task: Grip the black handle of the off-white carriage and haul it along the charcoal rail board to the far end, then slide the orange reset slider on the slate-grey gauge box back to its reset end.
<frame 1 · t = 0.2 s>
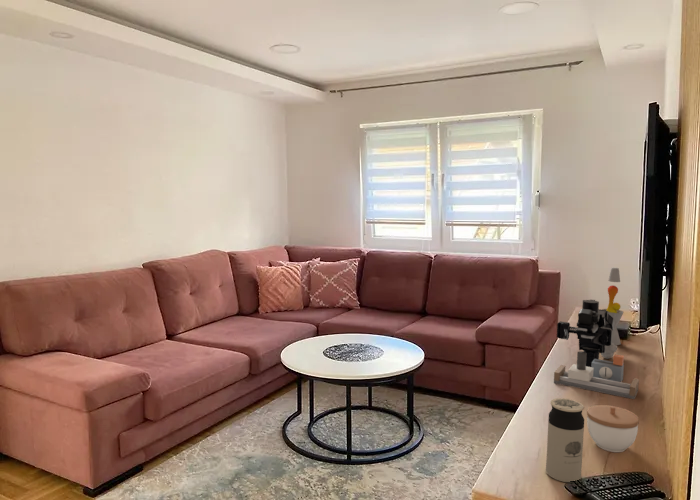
hand: (579, 339, 187), 17 cm above the tv stand, tool horizontal, fingers open, 9 cm apart
carriage: (581, 364, 189), point 7 cm above the tv stand, slide at -5.0 cm
grey faceted rock: (607, 358, 219), on the tv stand
gauge box: (606, 378, 195), on the tv stand
rail board: (595, 386, 187), on the tv stand
lidded bowl: (610, 446, 143), on the tv stand
lava lamp: (610, 342, 243), on the tv stand
travel mug: (563, 475, 128), on the tv stand
reset slider: (618, 359, 192), point 8 cm above the tv stand, slide at 3.5 cm
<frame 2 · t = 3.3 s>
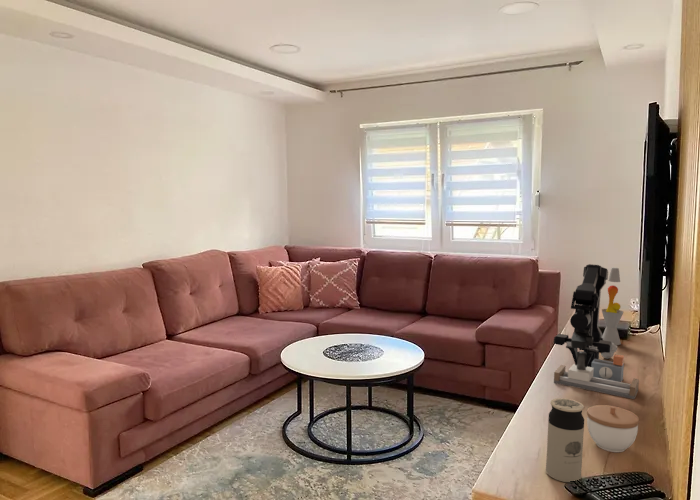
hand: (581, 366, 189), 7 cm above the tv stand, tool pointing down, fingers closed on carriage, 3 cm apart
carriage: (581, 364, 189), point 7 cm above the tv stand, slide at -5.0 cm, touching gripper
everything else where it was.
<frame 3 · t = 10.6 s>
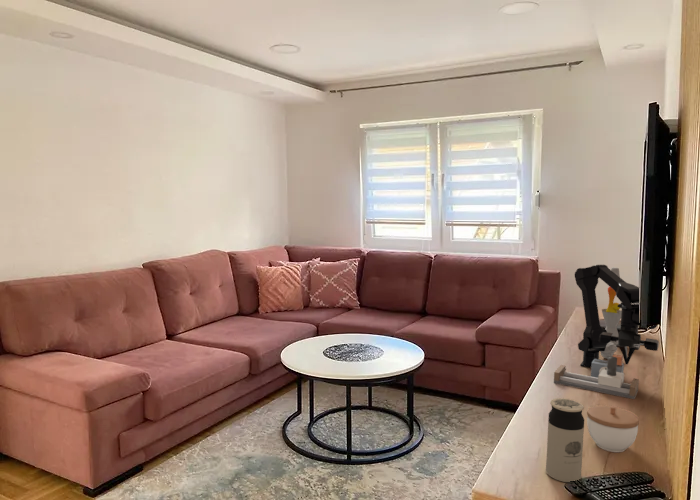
hand: (626, 363, 191), 7 cm above the tv stand, tool pointing down, fingers closed
carriage: (611, 370, 183), point 7 cm above the tv stand, slide at 4.9 cm
reset slider: (617, 359, 192), point 8 cm above the tv stand, slide at 3.2 cm, touching gripper
everything else where it was.
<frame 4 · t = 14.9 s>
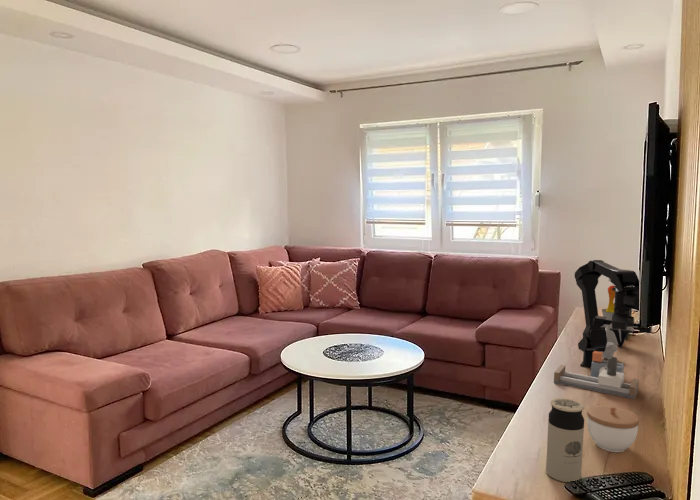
hand: (620, 347, 190), 13 cm above the tv stand, tool pointing down, fingers closed
reset slider: (597, 356, 196), point 8 cm above the tv stand, slide at -3.6 cm
everything else where it was.
at the end: carriage slide at 4.9 cm; reset slider slide at -3.6 cm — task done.
